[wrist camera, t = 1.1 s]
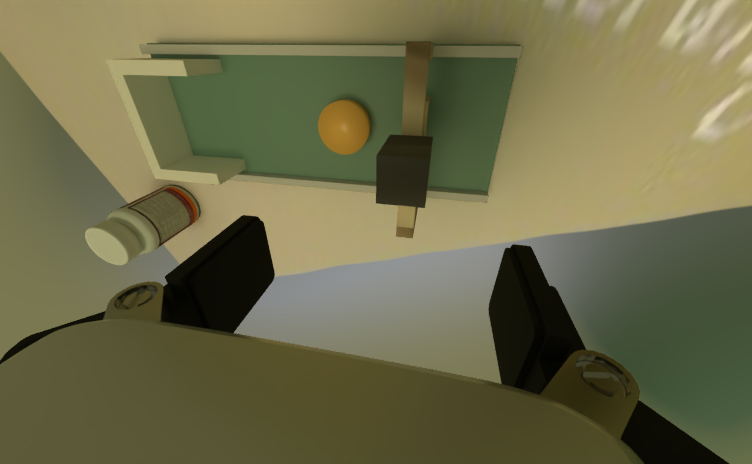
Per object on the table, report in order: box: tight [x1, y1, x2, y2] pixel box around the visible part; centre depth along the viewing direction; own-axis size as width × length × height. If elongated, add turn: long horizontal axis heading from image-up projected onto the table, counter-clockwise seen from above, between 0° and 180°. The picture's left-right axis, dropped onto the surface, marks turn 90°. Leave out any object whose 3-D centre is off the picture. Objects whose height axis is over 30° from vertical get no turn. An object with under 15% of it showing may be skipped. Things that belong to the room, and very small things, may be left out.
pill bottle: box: [85, 186, 199, 265], centre depth 37 cm, size 6×6×11 cm
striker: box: [376, 42, 434, 238], centre depth 23 cm, size 14×3×14 cm, turn 0°
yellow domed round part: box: [318, 98, 372, 155], centre depth 29 cm, size 5×5×2 cm
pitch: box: [106, 43, 523, 203], centre depth 29 cm, size 14×36×6 cm, turn 90°
